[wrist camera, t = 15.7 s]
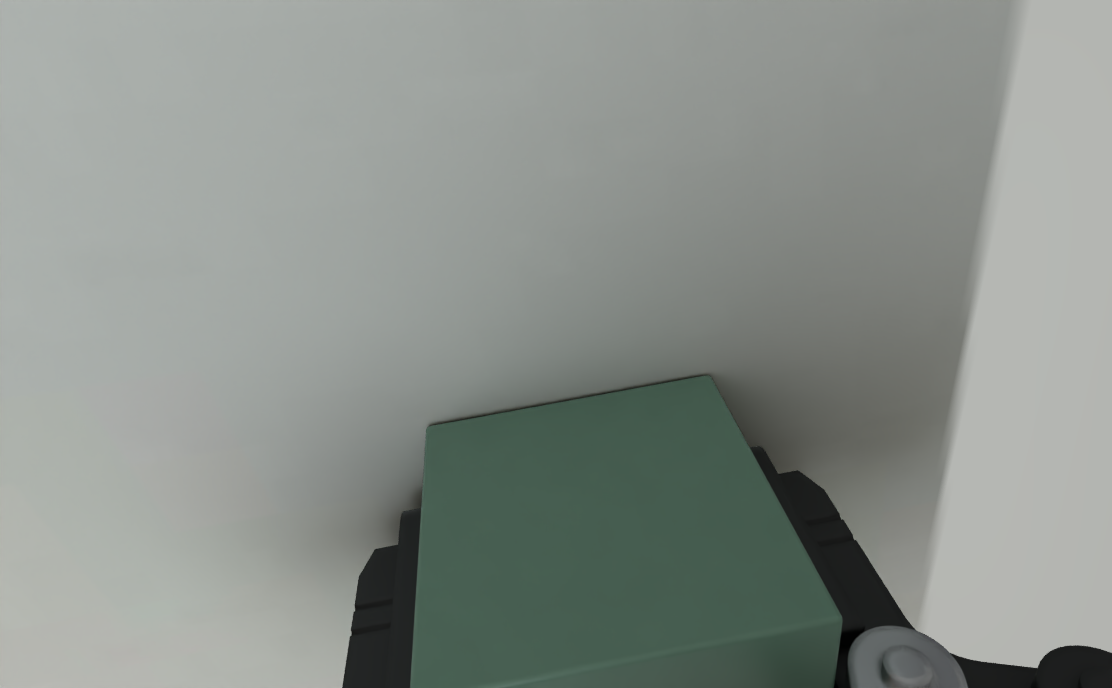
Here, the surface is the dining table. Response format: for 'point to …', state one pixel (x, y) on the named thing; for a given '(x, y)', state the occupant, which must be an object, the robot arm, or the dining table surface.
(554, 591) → the block
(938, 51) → the dining table surface
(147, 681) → the dining table surface
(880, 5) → the dining table surface
